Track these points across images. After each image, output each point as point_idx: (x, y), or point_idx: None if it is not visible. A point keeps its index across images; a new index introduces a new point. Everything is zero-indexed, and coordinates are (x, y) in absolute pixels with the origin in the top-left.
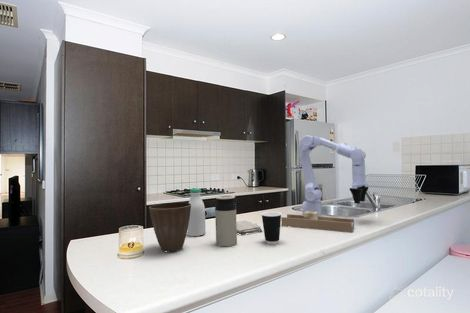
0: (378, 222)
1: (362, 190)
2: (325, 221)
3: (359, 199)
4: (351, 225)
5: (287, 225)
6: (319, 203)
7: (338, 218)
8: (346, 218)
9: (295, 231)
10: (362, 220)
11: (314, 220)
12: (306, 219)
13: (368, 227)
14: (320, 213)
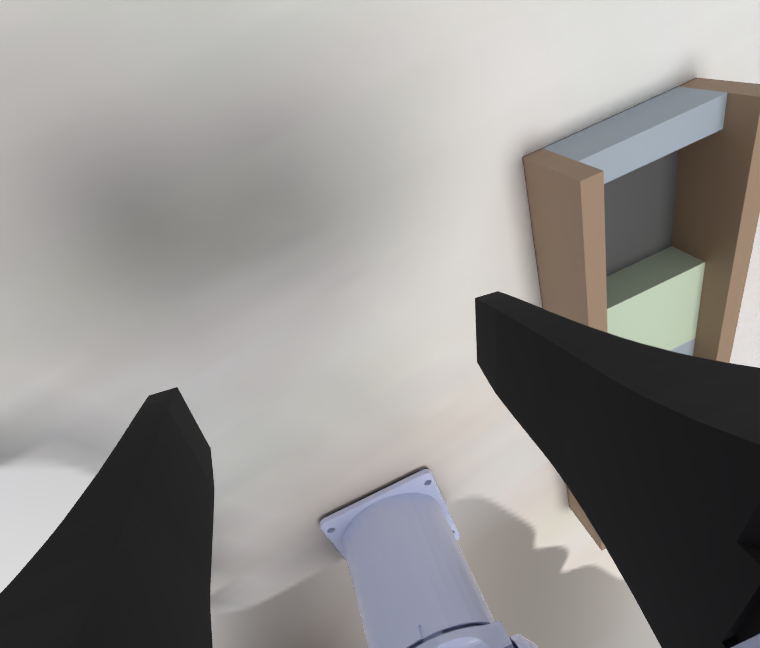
0: (32, 85)
1: (748, 436)
2: (738, 296)
3: (564, 319)
4: (742, 90)
5: None
6: (449, 615)
7: (604, 300)
8: (586, 249)
9: (752, 349)
10: (124, 292)
11: (726, 360)
12: None
13: (420, 51)
14: (404, 529)
